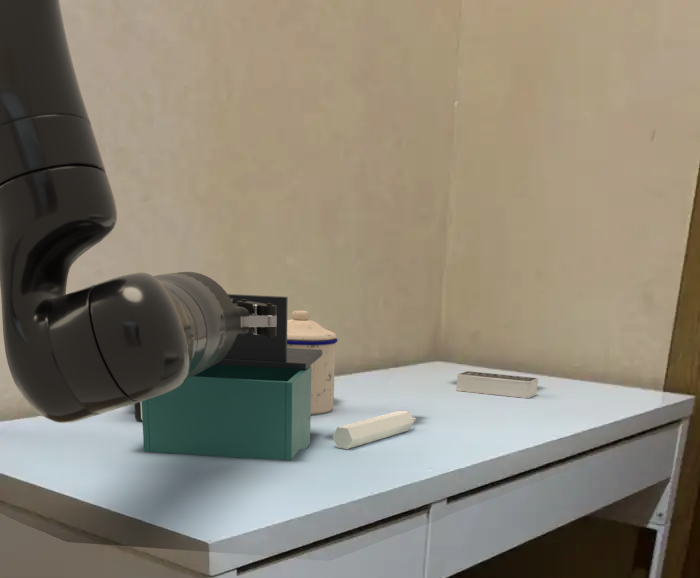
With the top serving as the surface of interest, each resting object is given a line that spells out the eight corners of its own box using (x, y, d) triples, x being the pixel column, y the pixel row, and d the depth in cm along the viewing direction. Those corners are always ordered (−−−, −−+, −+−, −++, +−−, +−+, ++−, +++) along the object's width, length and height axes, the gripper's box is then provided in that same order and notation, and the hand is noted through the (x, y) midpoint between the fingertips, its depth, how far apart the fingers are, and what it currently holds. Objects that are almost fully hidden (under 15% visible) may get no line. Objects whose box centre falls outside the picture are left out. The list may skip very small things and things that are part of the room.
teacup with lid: (259, 402, 120) (259, 307, 116) (329, 402, 122) (331, 308, 117) (268, 420, 109) (268, 315, 105) (345, 420, 111) (348, 317, 106)
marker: (416, 432, 109) (344, 453, 96) (403, 421, 110) (329, 441, 97) (428, 414, 108) (355, 433, 95) (414, 403, 108) (341, 420, 95)
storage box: (144, 461, 88) (140, 374, 85) (179, 436, 99) (176, 358, 96) (291, 470, 87) (292, 382, 84) (310, 444, 98) (311, 365, 95)
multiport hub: (528, 398, 131) (530, 381, 130) (455, 390, 136) (456, 374, 135) (537, 394, 135) (539, 378, 134) (465, 386, 139) (466, 370, 138)
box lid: (165, 362, 92) (162, 291, 90) (196, 349, 103) (195, 285, 101) (305, 369, 91) (307, 298, 88) (322, 355, 102) (323, 291, 99)
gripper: (262, 277, 69) (298, 270, 85) (88, 269, 70) (156, 264, 86) (262, 381, 72) (297, 355, 88) (95, 372, 73) (159, 348, 89)
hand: (227, 310), depth 87 cm, fingers closed
